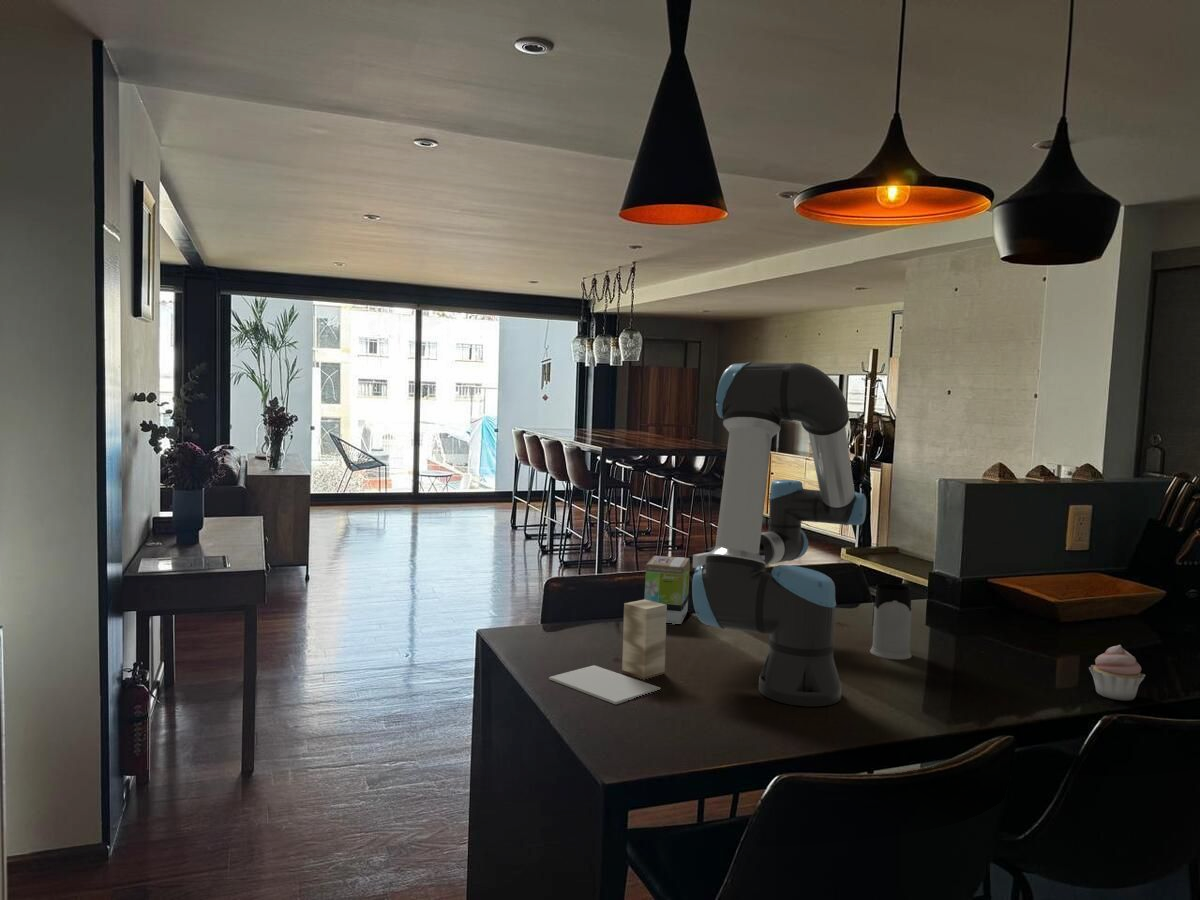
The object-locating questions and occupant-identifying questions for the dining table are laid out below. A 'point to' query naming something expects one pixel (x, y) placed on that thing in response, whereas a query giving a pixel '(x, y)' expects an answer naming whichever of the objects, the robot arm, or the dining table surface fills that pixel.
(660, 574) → the tea box
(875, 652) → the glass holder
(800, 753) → the dining table surface
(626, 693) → the mat
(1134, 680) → the cupcake
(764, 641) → the dining table surface
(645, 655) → the beech block
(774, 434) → the robot arm
